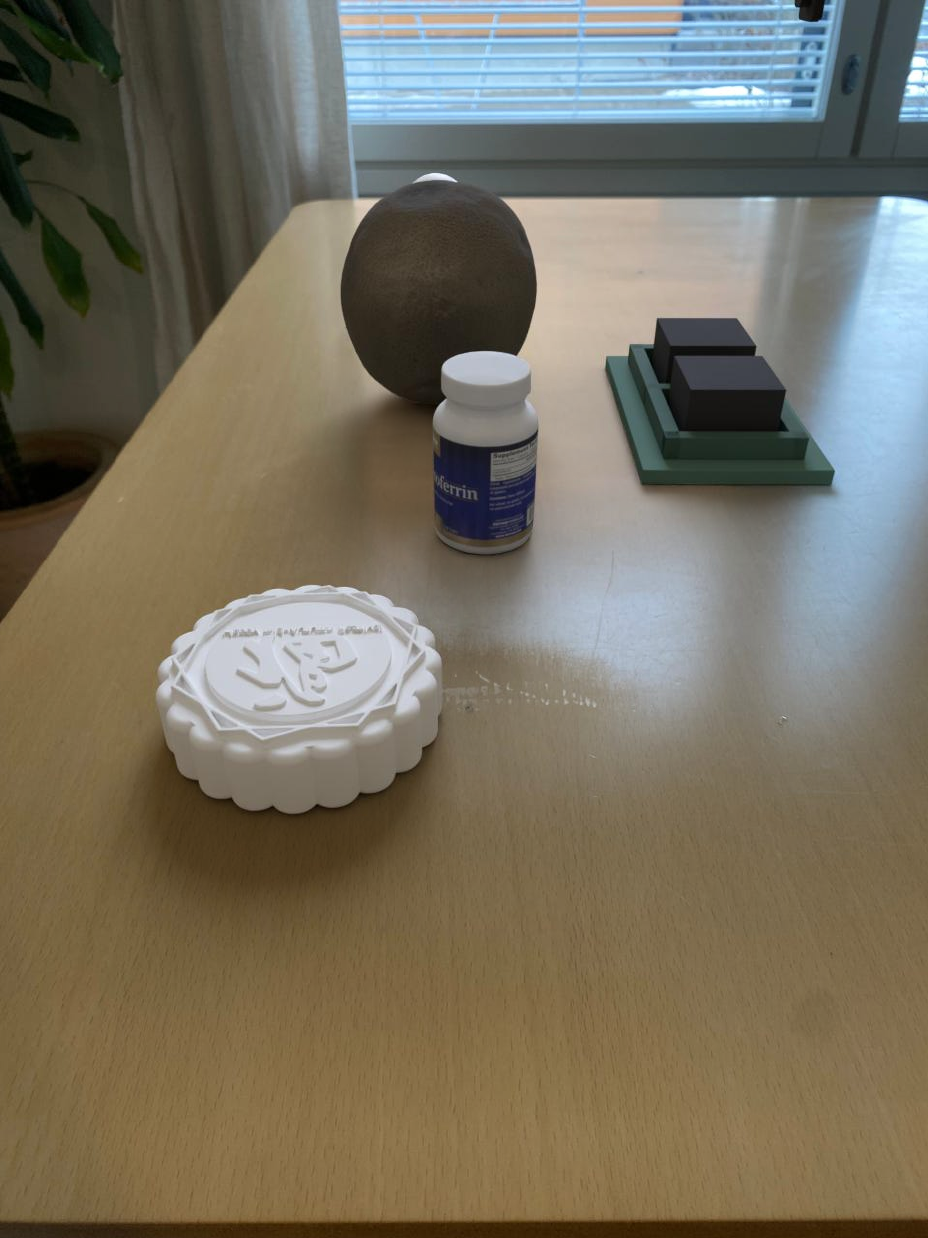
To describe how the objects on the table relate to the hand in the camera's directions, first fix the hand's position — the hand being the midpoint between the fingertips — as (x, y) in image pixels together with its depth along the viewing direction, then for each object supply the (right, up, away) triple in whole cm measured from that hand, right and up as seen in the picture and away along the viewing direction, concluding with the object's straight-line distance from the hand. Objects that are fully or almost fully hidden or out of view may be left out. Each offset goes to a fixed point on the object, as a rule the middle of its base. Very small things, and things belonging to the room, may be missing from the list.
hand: (878, 18), depth 66 cm
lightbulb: (-32, -11, +25) cm, 42 cm away
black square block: (-12, -24, +4) cm, 27 cm away
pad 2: (-12, -29, -2) cm, 31 cm away
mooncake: (-36, -46, -24) cm, 63 cm away
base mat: (-12, -28, +2) cm, 30 cm away
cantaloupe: (-31, -26, +4) cm, 40 cm away
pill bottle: (-28, -37, -11) cm, 48 cm away
